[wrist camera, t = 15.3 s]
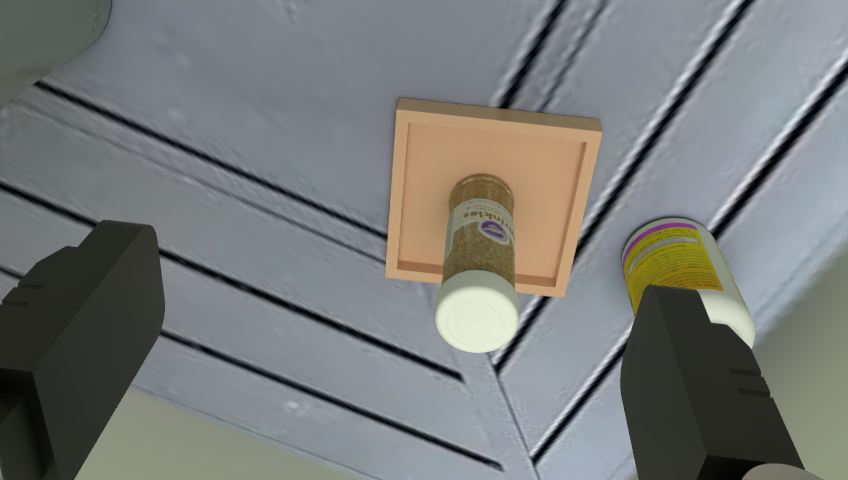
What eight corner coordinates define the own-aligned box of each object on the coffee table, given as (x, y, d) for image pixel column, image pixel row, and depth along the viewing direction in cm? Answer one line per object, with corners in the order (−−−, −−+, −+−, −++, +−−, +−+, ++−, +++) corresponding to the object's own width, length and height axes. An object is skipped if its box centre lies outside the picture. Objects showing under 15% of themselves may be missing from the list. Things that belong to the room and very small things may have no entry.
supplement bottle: (600, 257, 54) (627, 379, 43) (670, 196, 51) (718, 311, 40) (664, 306, 56) (706, 435, 45) (736, 250, 53) (799, 374, 42)
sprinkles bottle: (521, 179, 50) (528, 298, 39) (505, 235, 53) (509, 362, 41) (454, 166, 50) (442, 282, 39) (442, 223, 53) (427, 348, 41)
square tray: (388, 261, 56) (385, 277, 54) (400, 97, 49) (396, 109, 47) (562, 281, 55) (564, 297, 54) (598, 119, 48) (602, 131, 47)
